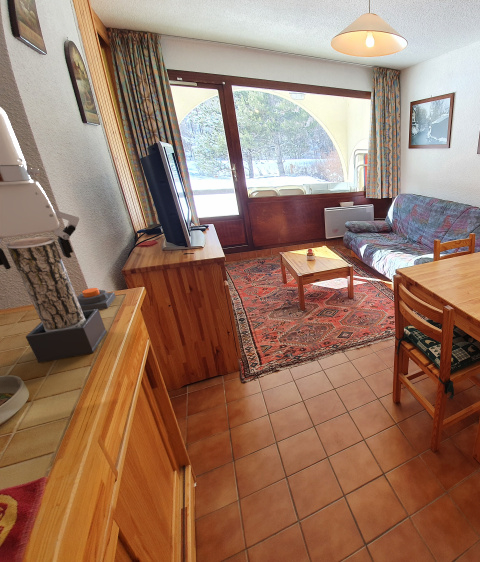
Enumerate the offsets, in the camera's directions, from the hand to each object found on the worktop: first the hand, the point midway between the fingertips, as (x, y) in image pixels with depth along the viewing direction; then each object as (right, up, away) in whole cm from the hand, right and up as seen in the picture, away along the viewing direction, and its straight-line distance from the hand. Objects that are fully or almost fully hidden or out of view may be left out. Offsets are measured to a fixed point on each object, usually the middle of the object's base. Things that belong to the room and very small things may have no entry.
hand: (39, 261), depth 65 cm
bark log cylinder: (0, -19, +8) cm, 21 cm away
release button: (-13, -8, +27) cm, 31 cm away
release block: (-13, -11, +28) cm, 33 cm away
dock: (0, -20, +8) cm, 21 cm away
